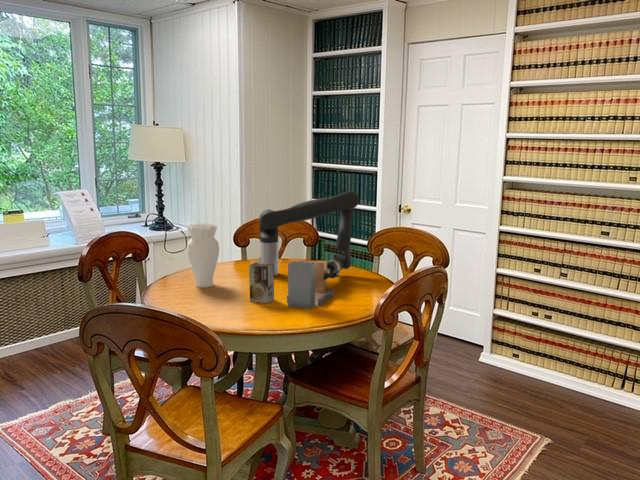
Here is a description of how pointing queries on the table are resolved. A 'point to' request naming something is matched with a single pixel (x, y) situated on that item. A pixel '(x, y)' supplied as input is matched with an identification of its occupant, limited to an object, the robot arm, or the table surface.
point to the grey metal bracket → (304, 286)
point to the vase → (203, 252)
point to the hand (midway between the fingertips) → (318, 277)
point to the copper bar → (320, 276)
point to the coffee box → (261, 282)
